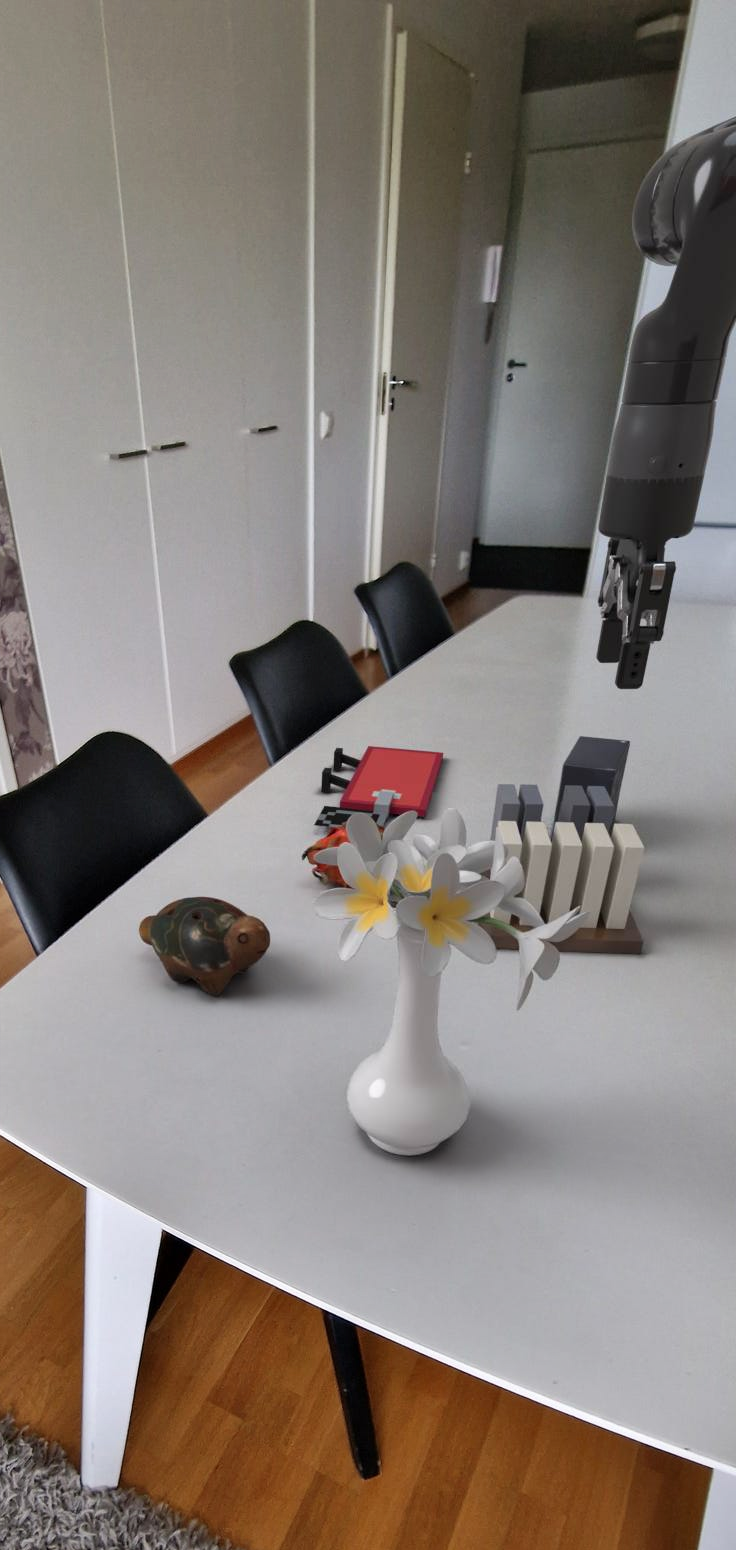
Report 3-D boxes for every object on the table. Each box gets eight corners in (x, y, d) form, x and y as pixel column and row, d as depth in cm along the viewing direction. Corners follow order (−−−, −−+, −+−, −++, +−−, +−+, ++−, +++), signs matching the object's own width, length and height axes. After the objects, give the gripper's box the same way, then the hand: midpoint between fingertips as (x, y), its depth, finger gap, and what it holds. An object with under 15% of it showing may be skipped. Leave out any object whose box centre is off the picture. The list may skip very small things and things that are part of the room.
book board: (603, 865, 108) (605, 853, 107) (640, 954, 92) (643, 941, 91) (464, 861, 110) (466, 849, 109) (477, 947, 94) (479, 935, 93)
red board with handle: (299, 830, 117) (417, 843, 114) (299, 809, 115) (419, 822, 112) (343, 752, 140) (442, 761, 137) (344, 734, 139) (444, 743, 136)
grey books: (588, 861, 106) (604, 785, 100) (597, 883, 101) (614, 805, 96) (487, 858, 107) (497, 783, 101) (491, 880, 102) (502, 803, 97)
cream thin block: (558, 901, 98) (573, 822, 93) (566, 927, 94) (582, 845, 88) (541, 900, 98) (555, 821, 93) (548, 926, 94) (563, 845, 89)
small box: (563, 813, 120) (578, 733, 114) (615, 821, 118) (633, 739, 112) (546, 845, 113) (561, 761, 106) (601, 854, 110) (619, 769, 104)
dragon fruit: (411, 910, 103) (309, 911, 107) (418, 843, 106) (318, 846, 110) (398, 874, 96) (288, 876, 100) (406, 803, 98) (299, 808, 102)
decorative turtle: (251, 1018, 85) (241, 944, 80) (119, 986, 91) (103, 916, 87) (299, 964, 91) (293, 892, 86) (173, 937, 98) (160, 869, 93)
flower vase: (504, 1228, 64) (569, 910, 49) (271, 1141, 71) (266, 843, 56) (554, 1117, 73) (621, 820, 58) (342, 1050, 80) (354, 773, 66)
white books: (614, 903, 97) (632, 823, 92) (624, 929, 93) (644, 847, 88) (487, 899, 99) (498, 820, 94) (491, 924, 94) (503, 843, 89)
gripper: (731, 477, 69) (680, 697, 78) (680, 459, 80) (641, 653, 90) (627, 480, 70) (589, 698, 79) (591, 462, 81) (562, 654, 91)
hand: (617, 674), depth 85 cm, fingers open, 8 cm apart
